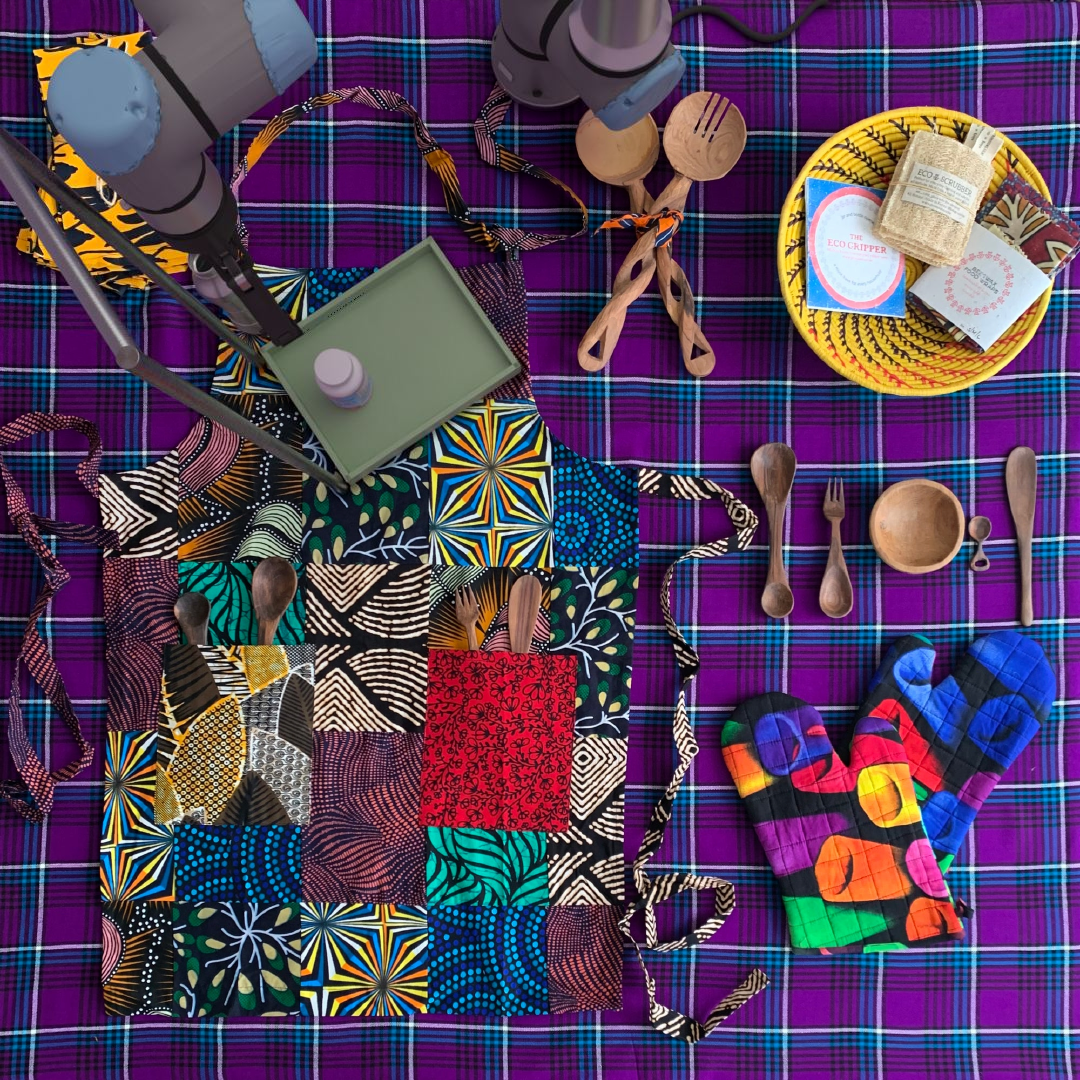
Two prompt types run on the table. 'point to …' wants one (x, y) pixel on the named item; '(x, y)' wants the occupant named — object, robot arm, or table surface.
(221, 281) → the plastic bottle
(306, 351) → the platform cart
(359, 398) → the pill bottle
